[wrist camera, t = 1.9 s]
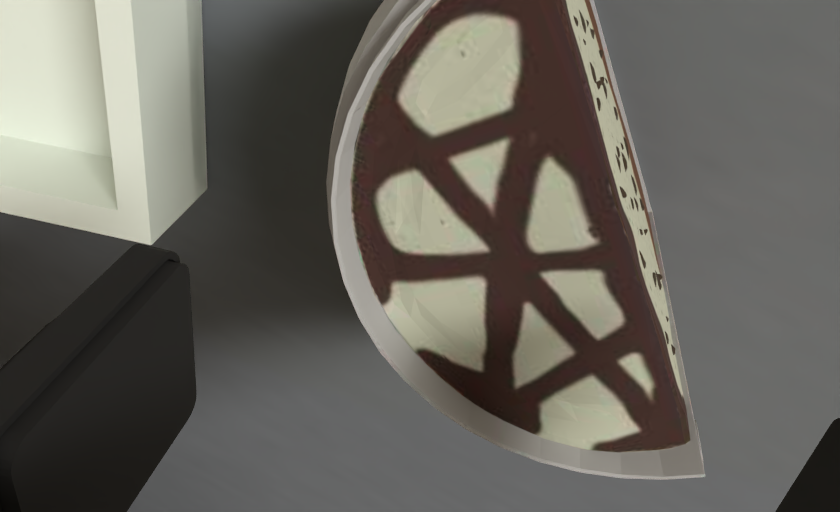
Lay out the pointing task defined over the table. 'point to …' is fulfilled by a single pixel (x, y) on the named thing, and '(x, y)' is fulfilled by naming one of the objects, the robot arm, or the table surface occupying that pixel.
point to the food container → (509, 234)
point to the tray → (102, 113)
